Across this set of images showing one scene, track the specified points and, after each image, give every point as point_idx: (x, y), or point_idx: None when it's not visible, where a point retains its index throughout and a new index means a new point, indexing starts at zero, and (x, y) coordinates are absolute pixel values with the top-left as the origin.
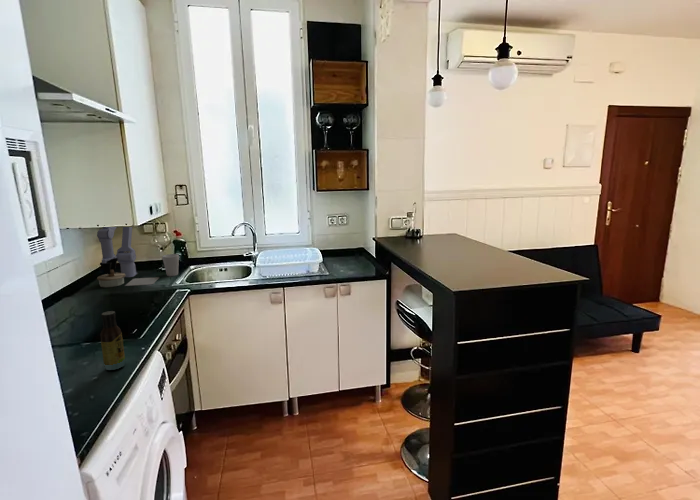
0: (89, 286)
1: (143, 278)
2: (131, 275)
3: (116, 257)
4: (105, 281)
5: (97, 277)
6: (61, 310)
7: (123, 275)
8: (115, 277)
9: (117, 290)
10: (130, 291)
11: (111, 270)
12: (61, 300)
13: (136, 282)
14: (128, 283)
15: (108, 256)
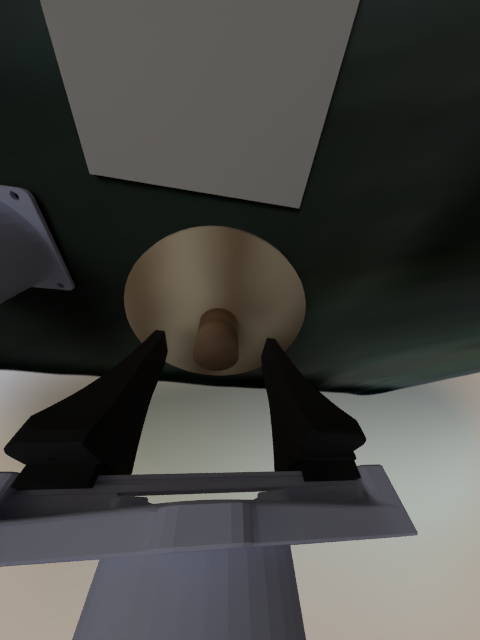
0: None
1: (67, 18)
2: (8, 209)
3: (188, 513)
4: None
5: (230, 374)
6: (471, 362)
7: (229, 239)
8: (275, 290)
9: (363, 239)
10: (473, 124)
11: (227, 350)
12: (356, 384)
13: (233, 104)
14: (244, 189)
15: (297, 602)
